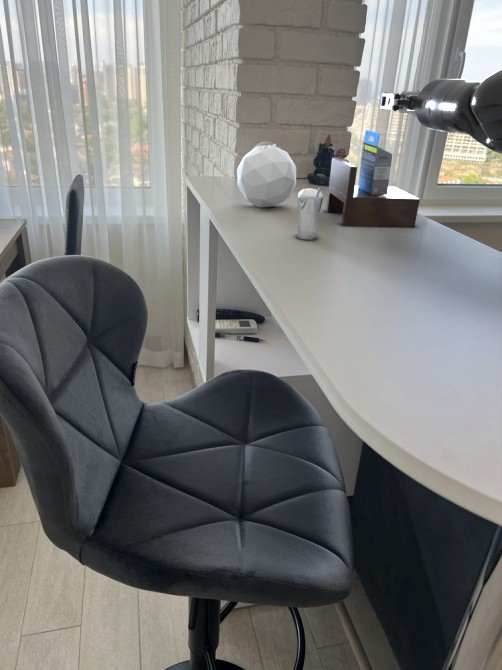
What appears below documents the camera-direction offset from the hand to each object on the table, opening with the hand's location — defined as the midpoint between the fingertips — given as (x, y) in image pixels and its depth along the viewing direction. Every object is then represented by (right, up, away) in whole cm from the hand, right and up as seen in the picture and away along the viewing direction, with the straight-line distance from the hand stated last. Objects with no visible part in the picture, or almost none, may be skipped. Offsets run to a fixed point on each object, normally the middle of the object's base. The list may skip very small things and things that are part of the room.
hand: (408, 101), depth 93 cm
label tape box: (-3, -12, +18) cm, 22 cm away
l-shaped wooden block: (-3, -17, +21) cm, 27 cm away
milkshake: (-18, -25, +3) cm, 31 cm away
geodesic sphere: (-26, -12, +27) cm, 40 cm away
